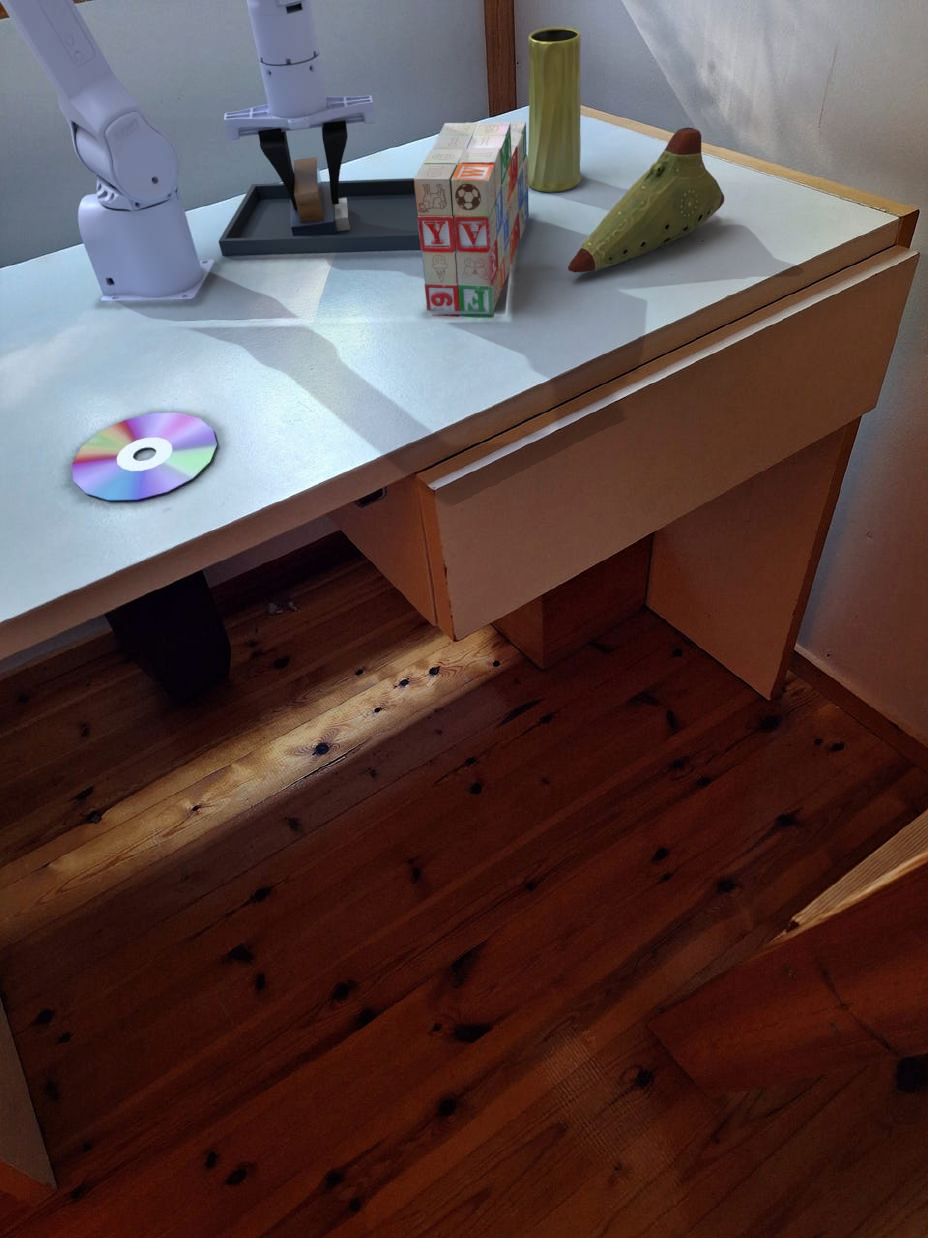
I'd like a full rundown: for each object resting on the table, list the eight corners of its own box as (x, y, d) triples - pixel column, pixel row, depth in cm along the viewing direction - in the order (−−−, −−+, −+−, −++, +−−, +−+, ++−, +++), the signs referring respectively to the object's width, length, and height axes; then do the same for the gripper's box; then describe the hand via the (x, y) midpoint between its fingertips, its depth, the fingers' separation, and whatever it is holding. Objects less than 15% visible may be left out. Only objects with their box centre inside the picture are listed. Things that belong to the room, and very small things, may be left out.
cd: (193, 397, 75) (193, 397, 75) (235, 467, 68) (235, 466, 68) (58, 442, 72) (58, 441, 72) (88, 520, 65) (88, 519, 65)
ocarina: (586, 293, 83) (590, 181, 76) (549, 273, 86) (549, 163, 79) (739, 226, 90) (756, 117, 83) (700, 210, 93) (713, 104, 86)
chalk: (337, 231, 94) (334, 218, 93) (336, 212, 98) (333, 198, 97) (350, 229, 94) (347, 216, 93) (349, 210, 98) (346, 197, 97)
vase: (518, 176, 102) (515, 31, 92) (569, 166, 103) (571, 21, 93) (537, 196, 98) (536, 47, 88) (590, 186, 99) (595, 37, 89)
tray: (223, 261, 93) (218, 240, 91) (256, 202, 102) (251, 183, 101) (427, 255, 90) (425, 234, 89) (441, 196, 100) (439, 176, 99)
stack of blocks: (471, 215, 96) (464, 86, 87) (529, 216, 95) (528, 86, 86) (426, 316, 82) (412, 175, 73) (494, 318, 81) (488, 176, 72)
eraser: (336, 234, 94) (328, 192, 90) (293, 240, 94) (283, 198, 90) (334, 194, 98) (326, 153, 95) (293, 199, 98) (283, 158, 95)
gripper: (209, 78, 82) (245, 227, 92) (368, 59, 82) (387, 209, 92) (213, 55, 87) (247, 199, 96) (363, 37, 87) (382, 183, 97)
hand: (316, 202), depth 95 cm, fingers closed on eraser, 3 cm apart
